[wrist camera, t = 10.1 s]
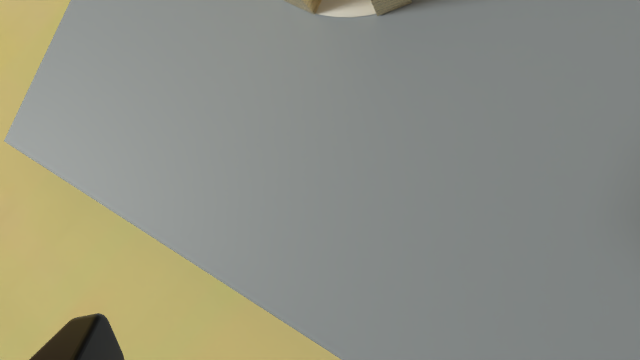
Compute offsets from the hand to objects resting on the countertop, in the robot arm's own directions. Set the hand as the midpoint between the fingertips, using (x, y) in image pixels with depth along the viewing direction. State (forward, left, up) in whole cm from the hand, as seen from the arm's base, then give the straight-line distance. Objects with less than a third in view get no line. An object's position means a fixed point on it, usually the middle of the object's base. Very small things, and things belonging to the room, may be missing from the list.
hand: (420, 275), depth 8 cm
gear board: (+2, -4, -11) cm, 12 cm away
